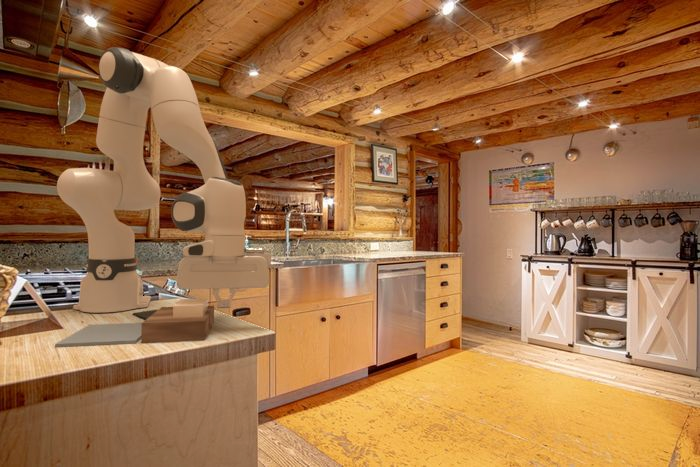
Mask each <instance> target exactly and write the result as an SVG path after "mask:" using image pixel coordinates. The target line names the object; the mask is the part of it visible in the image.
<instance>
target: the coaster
mask: <svg viewBox="0 0 700 467" xmlns="http://www.w3.org/2000/svg"><path fill="white" fill-rule="evenodd" d="M208 306H209V298H187V299H186V298H183V299H179V300H178V301H177V302H176V303H175V304H174V305H173V306H172V307H173V318H179V317H203V316H204V314H205V313H206V311H207V310H208Z"/></svg>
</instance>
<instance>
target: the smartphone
mask: <svg viewBox="0 0 700 467" xmlns="http://www.w3.org/2000/svg"><path fill="white" fill-rule="evenodd" d="M158 310H159V309H152V310H146V311H145V310H143V311H138V312H133V313H132V316H134V317H136V318H138V319H140V320H143V321H145V320H146V319H147V318H149V317H150V316H151V315H152V314H154V313H155V312H156V311H158Z"/></svg>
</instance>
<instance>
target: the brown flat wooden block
mask: <svg viewBox="0 0 700 467" xmlns="http://www.w3.org/2000/svg"><path fill="white" fill-rule="evenodd" d="M157 310H158V311H156V312H155V313H154V314H152V315H151V316H150V317H149V318H147V319H146V320H143V321H142V322H141V323H142V329H141V339H140V343H141V344H148V343H149V344H150V343H167V342H168V343H170V342H173V343H174V342H190V341H191V342H192V341H206V339H207V337H208V334H209V333H210V330H211V328H212V326H213V325H214V323H215V305H208V310H207V311H206V313H205V314H204V316H203V317H179V318H173V306H162V307H160V308H158V309H157Z"/></svg>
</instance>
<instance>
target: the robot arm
mask: <svg viewBox="0 0 700 467" xmlns="http://www.w3.org/2000/svg"><path fill="white" fill-rule="evenodd" d="M97 69H98V76H99V78H100V80H101V83H102V84H103V86H105V87H106V90H105V91H104V94H103V97H102V101H101V105H100V109H99V110H100V111H99V115H98V124H97V130H96V131H97V132H96V139H95V143H96V146H97V148H98V150H99V151H100V152H101V153H102V154H104V155H105V156H106V157H108V158H110V159H111V160H112V161H113V162H114V170H110V169H109V170H108V169H101V168H100V169H99V168H91V167H75V168H67V169H66V170H64V171H63V172H62V173H61V174H60V176H59V177H58V179H57V183H56V190H57V194H58V196H59V197H60V200H62V201H63V202H64V203H65V204H66V205H67V206H69V207H70V208H72V209H73V210H74V211H75V212H76V213H77V214H78V216H79V217H80V218H81V220H82V221H83V224H84V225H85V227H86V231H87V232H86V233H87V239H88V240H87V241H88V258H87V259H86V264H85V267H86V272H87V274H86V275H85V276H84V277H82V279H81V280H80V288H79V296H78V304H74V305H73V307H72V310H76V311H77V310H78V311H81V312H84V313H95V314H96V313H115V312H125V311H129V310H133V309H134V310H135V309H143V308H148V307H149V305H150V303H151V301H152V300H151V299H152V297H151V295H144V294H145V291H144V281H143V280H142V279H141V277H140V275H139V273H138V272H137V269H138V263H139V262H138V258H137V257H135V246H136V245H135V240H136V234H135V232H134V230H133V229H132V227H131V226H129V225H127V224H126V223H123V222H121V221H119V219H118V218H117V217H116V214H115V210H118V211H133V212H138V211H145V210H151V209H154V208H155V207H156V206H157V205H158V203H159V202H160V199H161V195H162V193H161V187H160V186H159V183H158V181H157V180H156V179H154V178H153V176H152V175H151V174H150V173H149V171H148V169H147V166H146V164H145V160H144V143H145V142H144V140H145V133H146V127H147V118H148V111H149V109H151V115H152V121H153V125H154V128H155V130H156V133H157V134H158V136H159V138H160V139H161V140H162V141H163V142H164V143H165V144H166V145H168V146H169V147H170V148H172V149H174V150H176V151H177V152H179V153H181V154H182V155H184V156H186V157H187V158H188V159H190V160H191V161H192V162H193V163H194V164H195V165H196V166H197V167H198V168H199V170H200V173H201V176H202V178H203V182H204V184H202V185H200V187H198V188H195V189H193V190H190V191H187V192H182V193H180V194H179V195H177V196H176V198H175V199H174V200H173V202H172V204H171V212H170V215H171V220H172V222H173V224H174V226H175V227H176V228H177V229H179V231H181V232H186V233H195V234H196V233H197V234H198V233H200V234H204V240H203V241H197V242H195V243H192V244H189V245H186V246H184V247H183V249H182V254H183V256H184V257H183V258H181V259H180V261H179V263H178V266H177V273H176V279H175V280H176V281H175V283H176V286H177V287H178V289H180V290H204V289H205V290H211V289H212V295H213V296H214V299H215V300H216V303H217V305H216V307H217V309H231V308H232V300H233V298H234V296H235V295H236V294H237V289H266V288H267V287H269V285H270V271H269V267H270V266H271V263H272V254H271V252H270V251H269V250H266V248H264V247H263V248H262V247H259V248H254V247H246V231H245V226H244V225H245V220H246V217H247V214H246V213H247V212H246V211H247V210H246V209H247V208H246V207H247V202H246V200H247V199H246V193H245V188H244V185H243V183H241V182H240V181H238V180H236V179H230V178H229V176H228V173H227V169H226V168H225V164H224V162H223V159H222V156H221V153H220V150H219V149H218V146H217V144H216V142H215V141H214V140H213V138H212V136H211V134H210V133H209V131H208V129H207V127H206V124H205V122H204V118H203V116H202V112H201V108H200V104H199V101H198V96H197V94H196V90H195V88H194V86H193V83H192V81H191V79H190V77H189V75H188V74H187V72H185V71H184V70H183V69H181V68H179V67H176V66H173V65H169V64H167V63H165V62H162V61H161V60H158V59H156V58H153V57H149V56H146V55H143V54H141V53H137V52H134V51H130V50H129V49H127V48H122V47H117V46H111V47H108V48H107V49H106V50H104V52H103V53H102V54H101V56H100V58H99V61H98V68H97ZM220 289H226V290H227V289H229V291H228V292H229V294H230V296H229V297H228V299H227V298H226V299H225V298H223V299H222V298H221V297H220V295H219V294H220V291H221V290H220ZM143 295H144V296H143Z"/></svg>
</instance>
